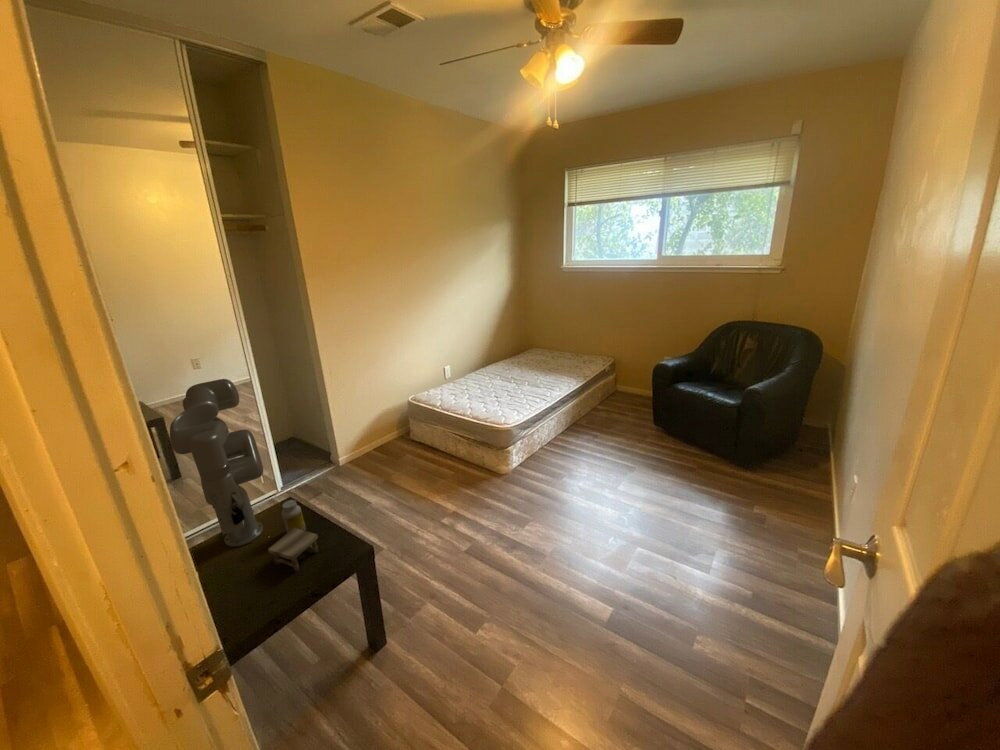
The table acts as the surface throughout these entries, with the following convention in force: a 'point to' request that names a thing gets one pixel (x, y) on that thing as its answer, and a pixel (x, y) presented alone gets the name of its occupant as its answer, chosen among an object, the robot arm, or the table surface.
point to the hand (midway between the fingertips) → (231, 519)
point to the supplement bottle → (292, 516)
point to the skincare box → (226, 519)
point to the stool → (293, 547)
